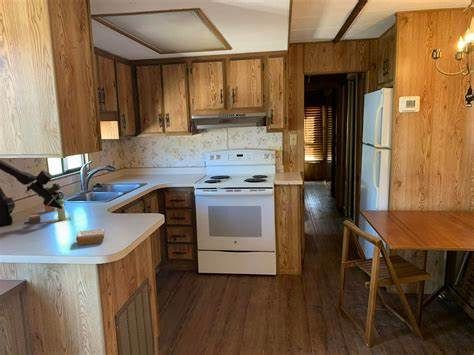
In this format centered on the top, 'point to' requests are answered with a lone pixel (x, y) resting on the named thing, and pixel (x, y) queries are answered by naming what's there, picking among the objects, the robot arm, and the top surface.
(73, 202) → the top surface
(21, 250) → the top surface
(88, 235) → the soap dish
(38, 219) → the button housing
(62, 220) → the picture board
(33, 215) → the button
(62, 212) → the ball
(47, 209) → the small box
